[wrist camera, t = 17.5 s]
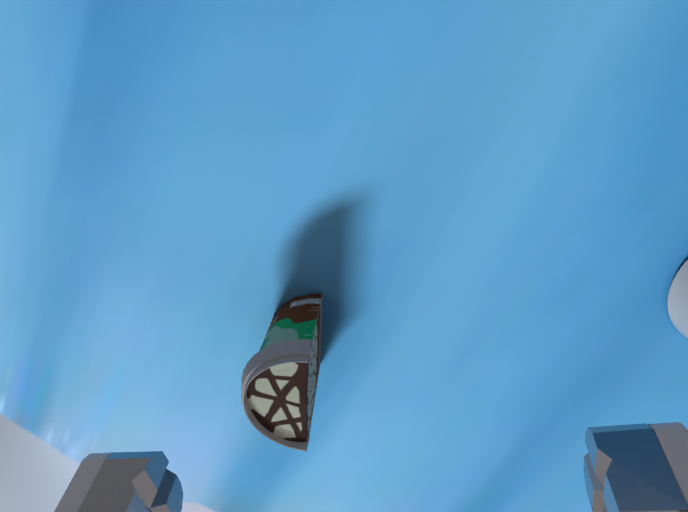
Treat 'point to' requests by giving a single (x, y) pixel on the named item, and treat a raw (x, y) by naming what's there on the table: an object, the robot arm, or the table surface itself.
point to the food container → (286, 374)
